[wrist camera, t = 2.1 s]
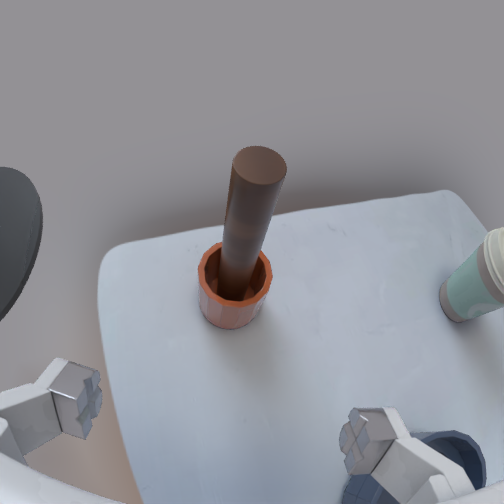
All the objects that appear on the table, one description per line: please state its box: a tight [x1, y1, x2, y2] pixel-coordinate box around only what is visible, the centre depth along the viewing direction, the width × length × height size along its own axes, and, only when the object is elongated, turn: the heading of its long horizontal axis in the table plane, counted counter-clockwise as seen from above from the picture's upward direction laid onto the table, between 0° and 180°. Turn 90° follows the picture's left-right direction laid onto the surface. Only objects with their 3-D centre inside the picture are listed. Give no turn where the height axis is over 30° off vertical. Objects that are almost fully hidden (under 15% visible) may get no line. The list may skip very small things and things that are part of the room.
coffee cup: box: [440, 227, 504, 322], centre depth 29 cm, size 8×8×12 cm
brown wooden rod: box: [216, 146, 287, 302], centre depth 23 cm, size 3×3×18 cm
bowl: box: [342, 430, 487, 504], centre depth 20 cm, size 14×14×6 cm
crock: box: [198, 242, 273, 329], centre depth 28 cm, size 6×6×6 cm
